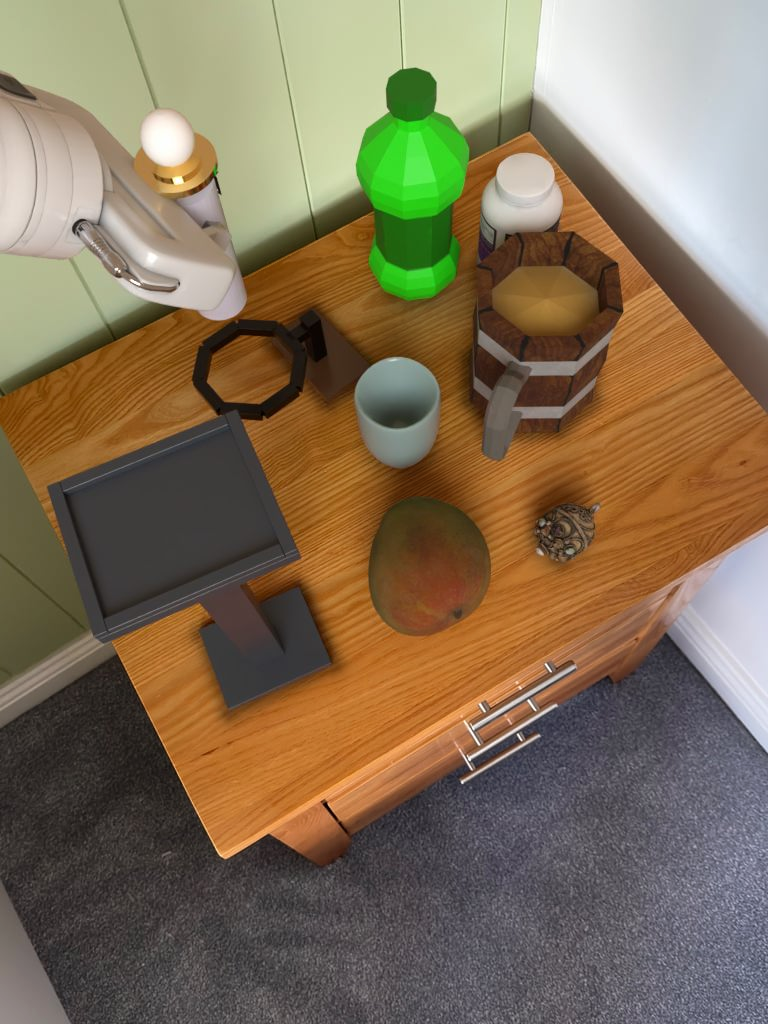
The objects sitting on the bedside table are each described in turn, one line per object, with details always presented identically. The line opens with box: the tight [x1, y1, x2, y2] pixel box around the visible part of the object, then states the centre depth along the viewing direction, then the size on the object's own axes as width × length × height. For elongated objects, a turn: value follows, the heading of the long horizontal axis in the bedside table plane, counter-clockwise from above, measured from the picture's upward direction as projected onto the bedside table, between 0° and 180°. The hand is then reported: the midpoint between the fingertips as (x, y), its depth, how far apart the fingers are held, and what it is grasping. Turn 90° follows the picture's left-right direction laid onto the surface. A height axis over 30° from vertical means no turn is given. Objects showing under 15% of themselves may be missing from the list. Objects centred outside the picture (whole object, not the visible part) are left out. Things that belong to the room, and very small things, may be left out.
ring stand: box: [191, 307, 372, 422], centre depth 84 cm, size 16×11×7 cm, turn 129°
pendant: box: [531, 501, 601, 563], centre depth 77 cm, size 5×8×5 cm, turn 129°
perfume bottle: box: [134, 107, 248, 321], centre depth 63 cm, size 6×6×20 cm
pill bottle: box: [476, 152, 564, 266], centre depth 85 cm, size 8×8×14 cm
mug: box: [468, 230, 625, 462], centre depth 79 cm, size 20×14×15 cm
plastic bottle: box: [355, 67, 470, 302], centre depth 81 cm, size 10×10×25 cm
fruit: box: [367, 495, 492, 637], centre depth 74 cm, size 12×12×10 cm
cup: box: [353, 356, 442, 469], centre depth 80 cm, size 8×8×10 cm
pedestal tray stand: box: [46, 410, 333, 712], centre depth 62 cm, size 12×10×32 cm
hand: (200, 215), depth 63 cm, fingers closed on perfume bottle, 4 cm apart
